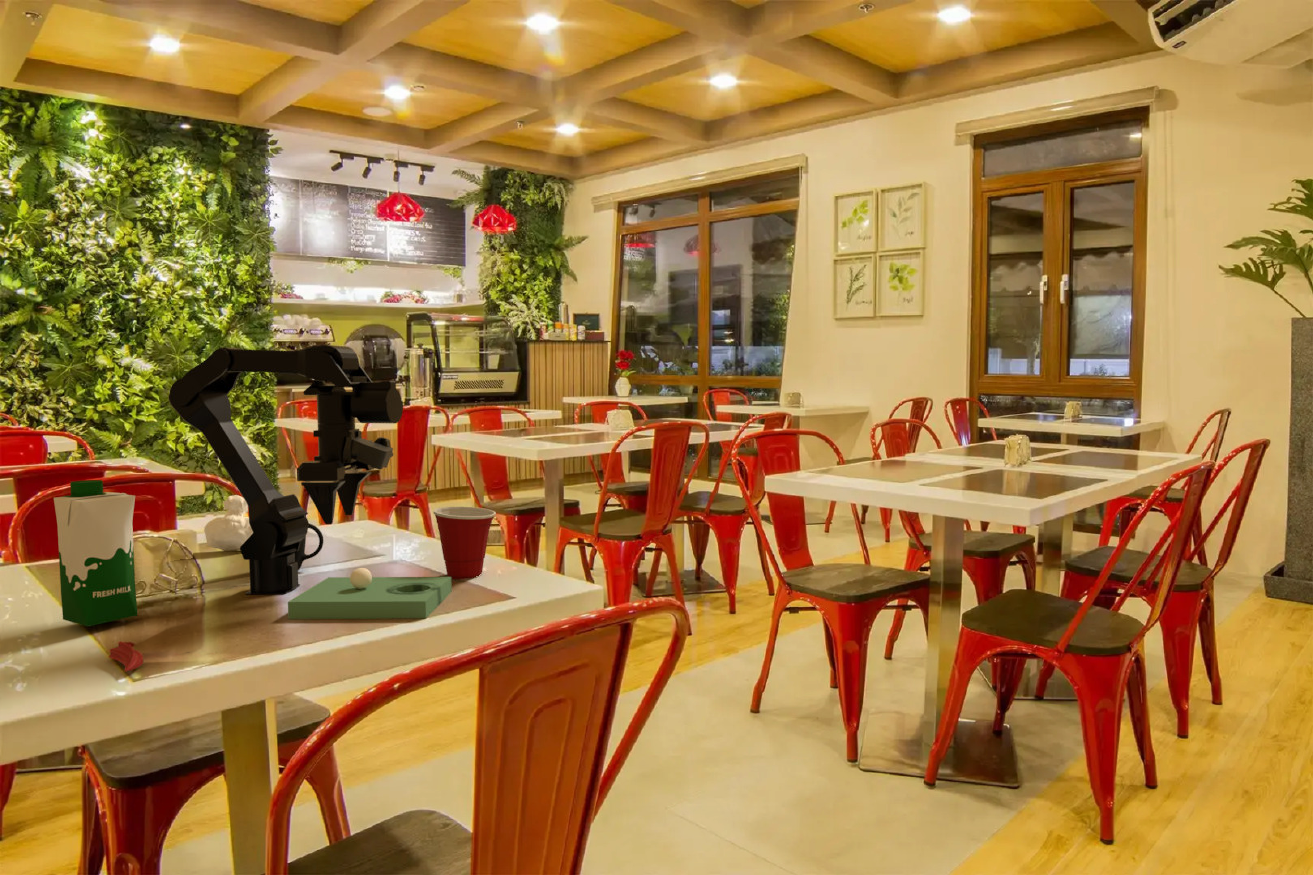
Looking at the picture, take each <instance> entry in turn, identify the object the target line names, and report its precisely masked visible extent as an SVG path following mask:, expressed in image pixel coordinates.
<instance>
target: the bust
mask: <svg viewBox="0 0 1313 875" xmlns="http://www.w3.org/2000/svg"><path fill="white" fill-rule="evenodd" d="M222 504H223V511H225V510H226V514H224V517H221V516H218V517H216V518H213V519H212V520H210V521H209V522H207V523H206V524H205V525H204V527H203V528H204V529H203V530H204V534H205V540H206V544H207V546H208V547H210V548H213V549H218V550H221V551H224V552H226V551H241V550H240V547H241V546H242V545H243V543H244V542H245V541H246V540H247V539H248V538H249V537H250V536H251V535H252V534H253V531H252V529H251V526H250V524H249V516H246V517H245V516H244V515H245V514H247V513H249V509H248V505H247V503H246V501H245V499H244V498H243V496H242V495H241V496H240V495H238V494H235V495H229V496H227V498H226V499H225V500H224V501H223V502H222Z"/></svg>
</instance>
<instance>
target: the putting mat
mask: <svg viewBox="0 0 1313 875" xmlns="http://www.w3.org/2000/svg"><path fill="white" fill-rule="evenodd" d="M451 593H452V578H451V577H448V576H372V581H371V583H370V585H369V586H368V587H366V588H364V589H357V588H355V587H354V586H353V585H352V584H351V582H350V576H347V577H343V576H342V577H341V576H340V577H339V576H335V577H334V576H333V577H330V576H329V577H327V578H325V579H323V580H322V581H320V582H318V583H317V584H316V585H314V586H312V587H310V588H309V589H307V590H305V591H304V592H302V593H299V595H297V596H295V597H293V598H292V599H290V600H289V601H288V602H287V614H288V615H287V617H288V620H313V619H317V620H320V619H321V620H324V619H325V620H326V619H327V620H330V619H331V620H332V619H333V620H338V619H339V620H340V619H341V620H342V619H345V620H346V619H348V620H349V619H351V620H352V619H353V620H354V619H357V620H359V619H360V620H361V619H362V620H364V619H365V620H367V619H371V620H372V619H375V620H377V619H379V620H380V619H381V620H382V619H427V618H428V617H429V616H430V615H431V614H432V613H433V612H434V611H435V610H436V609H437V607H439V606H440V605H441V603H442V602H444V601H445V600H446V598H447V597H448V596H449V595H450V594H451Z"/></svg>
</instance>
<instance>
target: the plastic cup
mask: <svg viewBox="0 0 1313 875" xmlns="http://www.w3.org/2000/svg"><path fill="white" fill-rule="evenodd" d="M432 513H433V515H435V520H436V524H437V529H438V534H439V538H440V544H441V551H442V555H443V560H444V564H445V565H444V566H445V569H446V575H447V577H451V580H452V579H453V580H465V579H464V578H470V579H475V578H477V577H476V576H478V577H480V576H481V575H482V573H483V570H484V569H483V568H484V560H485V557H486V551H487V544H488V539H489V532H490V529H491V526H492V523H493V522H492V521H493V519H494V517H496V514H497V513H496V511H494V510H493V509H488V508H483V507H473V506H442V507H437V508H435V509H433V511H432ZM480 574H481V575H480ZM479 575H480V576H479ZM474 577H475V578H474Z"/></svg>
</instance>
